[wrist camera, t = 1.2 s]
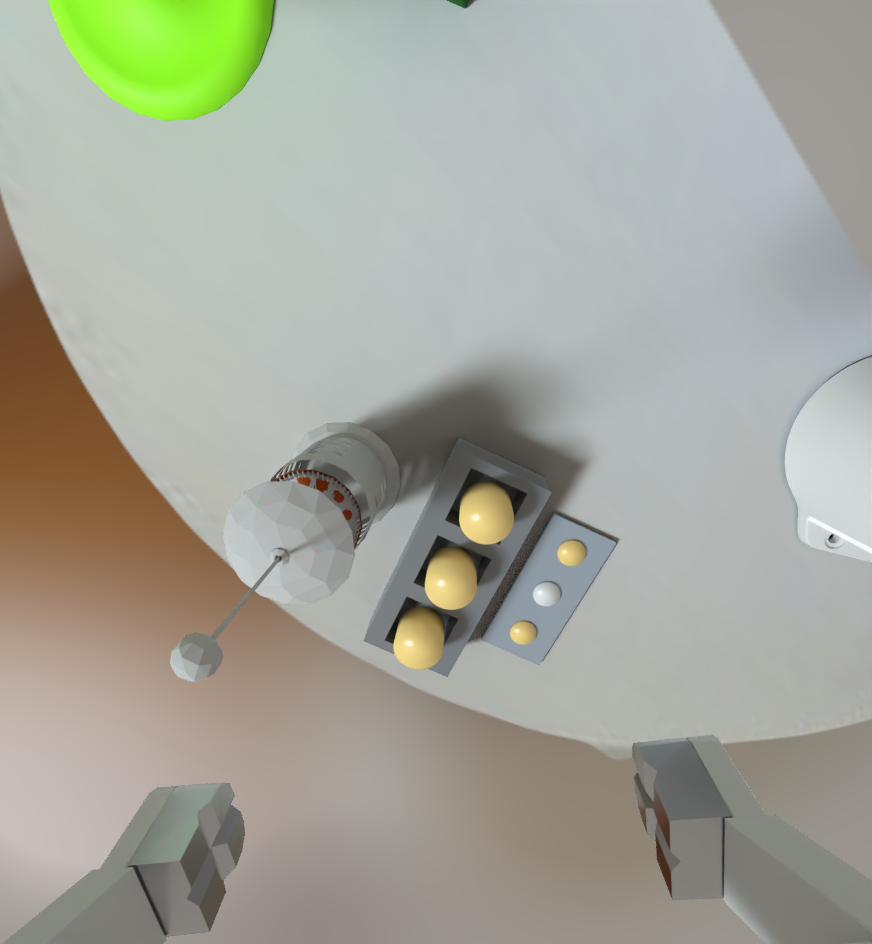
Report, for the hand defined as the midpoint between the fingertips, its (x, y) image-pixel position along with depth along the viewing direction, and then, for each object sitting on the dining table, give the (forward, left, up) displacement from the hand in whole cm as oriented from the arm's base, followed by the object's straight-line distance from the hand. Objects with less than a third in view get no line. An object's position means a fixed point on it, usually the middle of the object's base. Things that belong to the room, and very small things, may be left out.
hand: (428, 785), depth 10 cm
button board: (-8, +10, -32) cm, 35 cm away
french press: (+8, +8, -33) cm, 35 cm away
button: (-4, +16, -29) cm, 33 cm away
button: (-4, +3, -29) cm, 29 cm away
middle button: (-4, +10, -29) cm, 31 cm away
